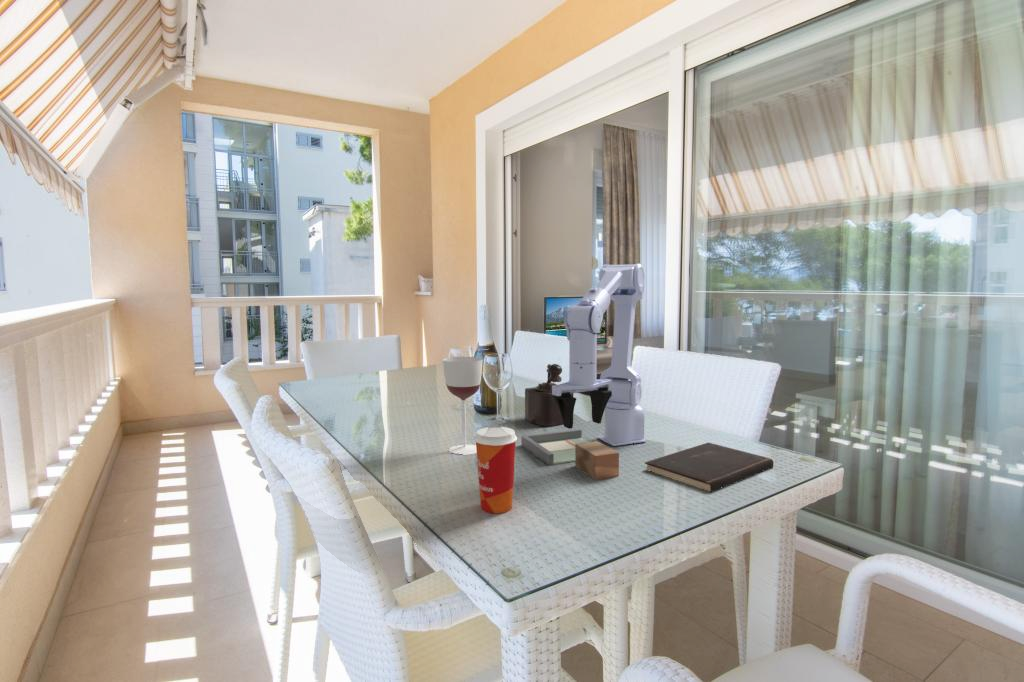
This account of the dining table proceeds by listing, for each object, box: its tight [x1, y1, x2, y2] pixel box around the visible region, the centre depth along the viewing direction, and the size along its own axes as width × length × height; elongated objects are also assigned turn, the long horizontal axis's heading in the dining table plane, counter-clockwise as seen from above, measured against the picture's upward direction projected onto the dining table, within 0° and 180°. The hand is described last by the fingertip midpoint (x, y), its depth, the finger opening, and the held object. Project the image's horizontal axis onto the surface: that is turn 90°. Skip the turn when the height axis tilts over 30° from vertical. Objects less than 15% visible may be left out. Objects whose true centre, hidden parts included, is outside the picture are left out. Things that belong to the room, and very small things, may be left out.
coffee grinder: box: [524, 363, 575, 428], centre depth 156 cm, size 16×11×18 cm
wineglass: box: [442, 356, 483, 456], centre depth 132 cm, size 9×10×22 cm
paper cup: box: [473, 426, 518, 515], centre depth 99 cm, size 8×8×14 cm
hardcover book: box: [644, 442, 775, 493], centre depth 119 cm, size 16×23×2 cm
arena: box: [521, 428, 589, 466], centre depth 132 cm, size 16×16×2 cm
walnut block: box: [574, 440, 620, 481], centre depth 118 cm, size 9×5×5 cm, turn 21°
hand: (582, 424), depth 119 cm, fingers open, 7 cm apart
